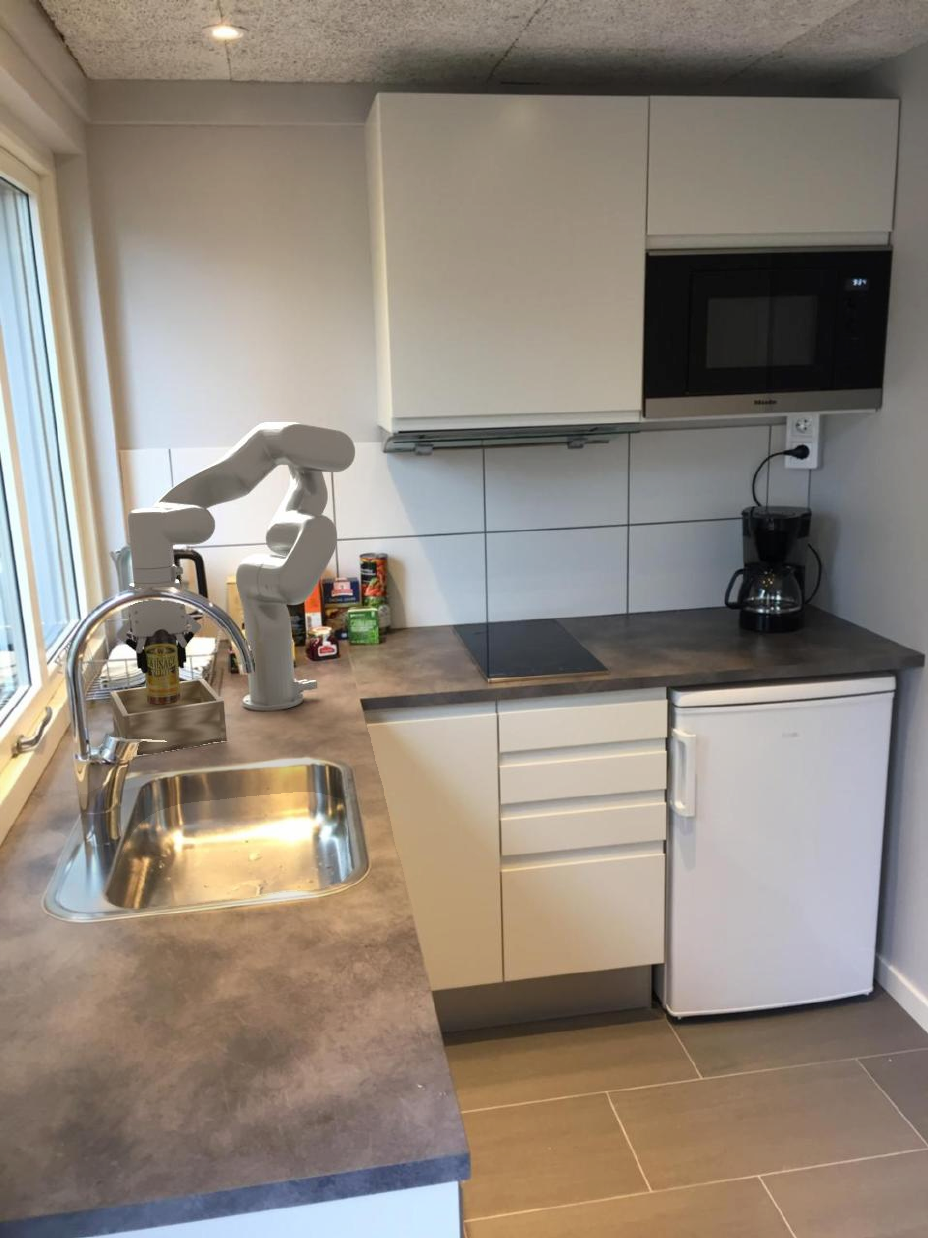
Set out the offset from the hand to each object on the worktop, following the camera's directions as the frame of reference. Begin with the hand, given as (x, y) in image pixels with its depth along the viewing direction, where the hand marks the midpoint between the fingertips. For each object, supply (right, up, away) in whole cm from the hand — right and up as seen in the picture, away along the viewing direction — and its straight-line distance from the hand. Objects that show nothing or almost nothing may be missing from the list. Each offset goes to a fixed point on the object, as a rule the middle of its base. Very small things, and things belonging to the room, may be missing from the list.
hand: (162, 668), depth 191 cm
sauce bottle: (0, -7, +1) cm, 7 cm away
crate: (0, -13, +3) cm, 13 cm away
